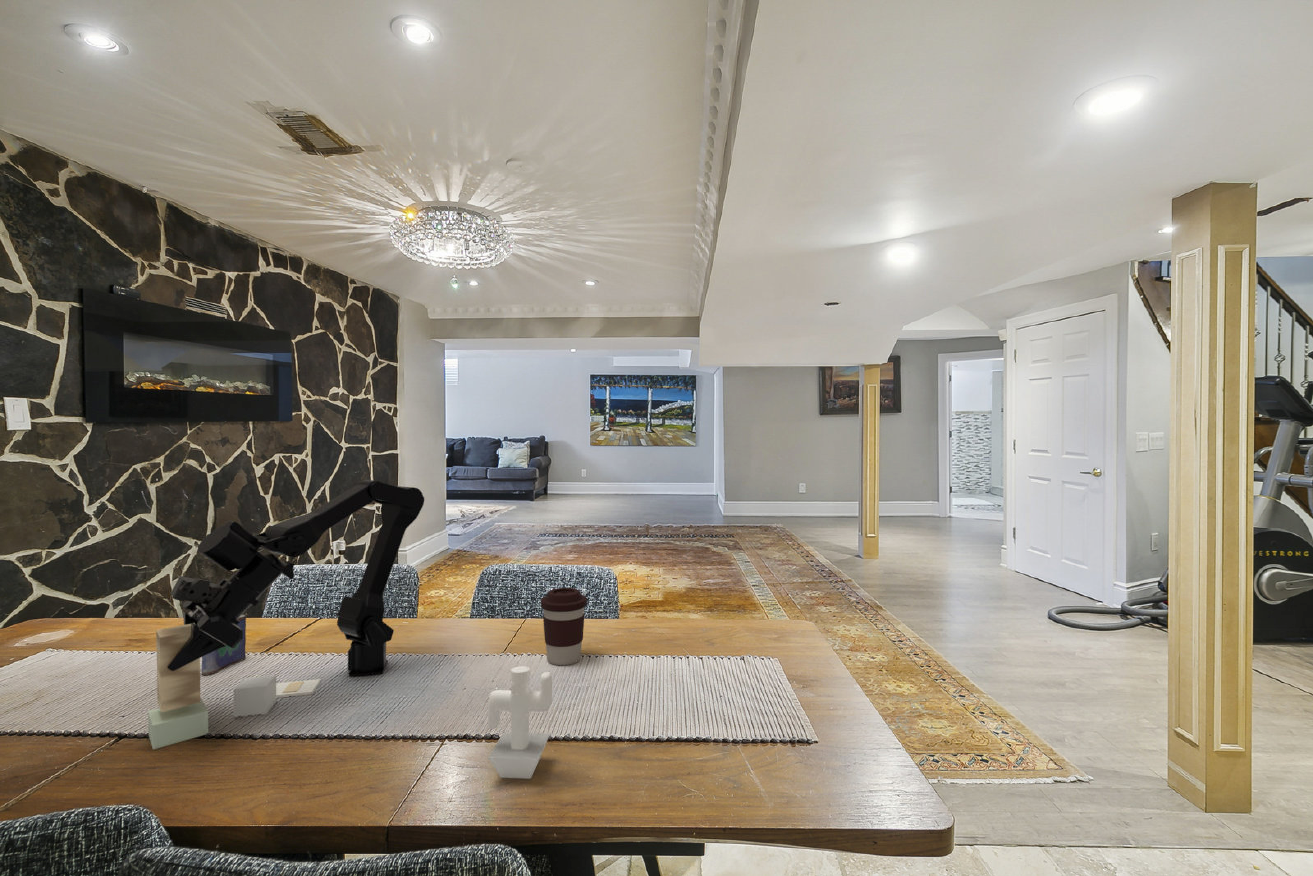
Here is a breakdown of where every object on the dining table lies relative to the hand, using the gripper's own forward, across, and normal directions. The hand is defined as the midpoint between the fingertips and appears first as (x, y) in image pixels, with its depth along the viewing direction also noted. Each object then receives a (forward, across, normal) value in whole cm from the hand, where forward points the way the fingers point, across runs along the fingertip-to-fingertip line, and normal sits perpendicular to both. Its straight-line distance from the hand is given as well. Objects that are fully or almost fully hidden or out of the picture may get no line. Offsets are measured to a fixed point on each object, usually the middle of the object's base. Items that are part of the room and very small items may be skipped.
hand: (167, 665), depth 97 cm
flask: (0, -29, +17) cm, 34 cm away
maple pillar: (+4, 0, +6) cm, 7 cm away
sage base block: (+8, 0, +9) cm, 12 cm away
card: (-5, -5, +22) cm, 23 cm away
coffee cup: (-37, +19, +55) cm, 69 cm away
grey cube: (0, -1, +17) cm, 17 cm away
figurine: (-16, +49, +33) cm, 62 cm away
